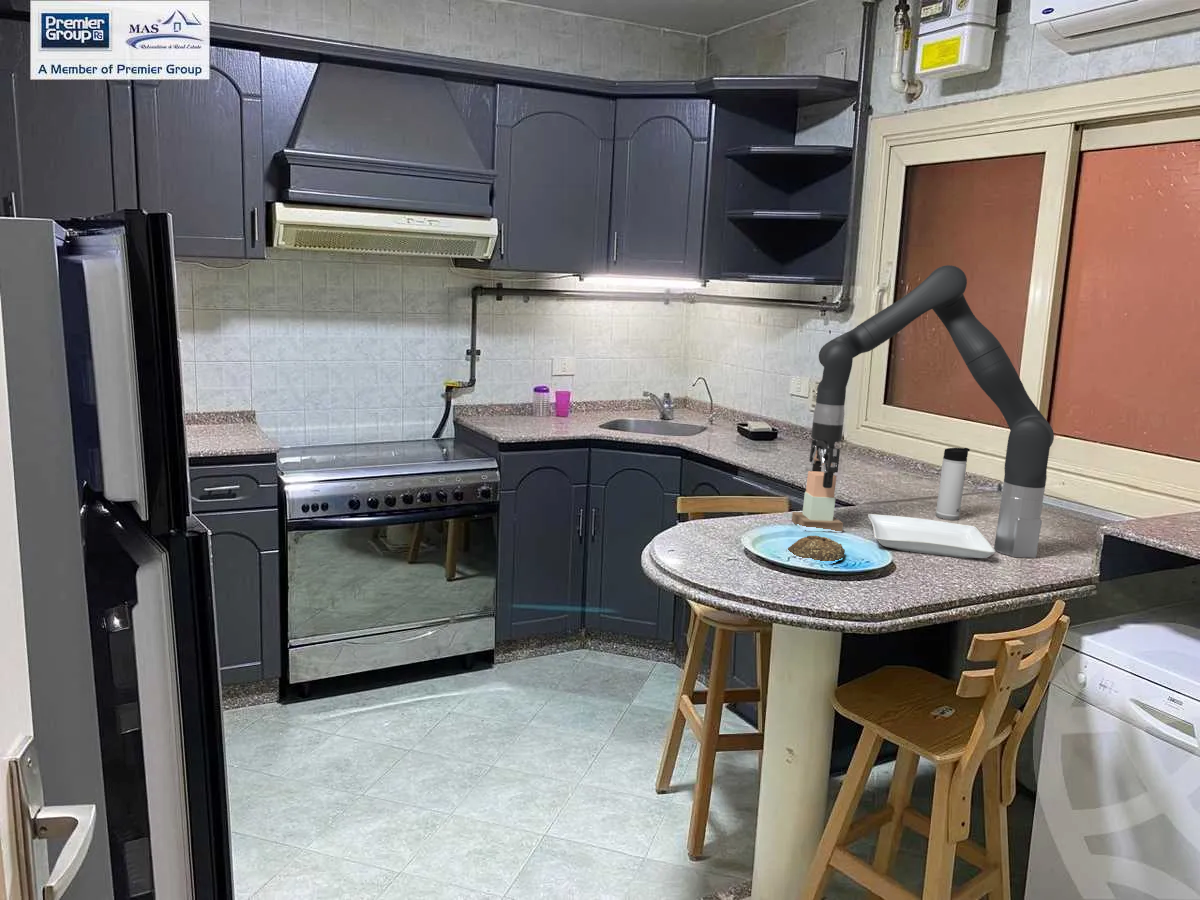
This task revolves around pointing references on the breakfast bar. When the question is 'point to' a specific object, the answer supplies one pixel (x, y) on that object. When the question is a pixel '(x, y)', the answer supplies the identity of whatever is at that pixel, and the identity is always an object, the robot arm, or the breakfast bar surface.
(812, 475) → the terracotta block
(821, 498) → the sage block
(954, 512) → the travel mug
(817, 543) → the bread roll
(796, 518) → the walnut slab
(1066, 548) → the breakfast bar surface
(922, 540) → the square plate
